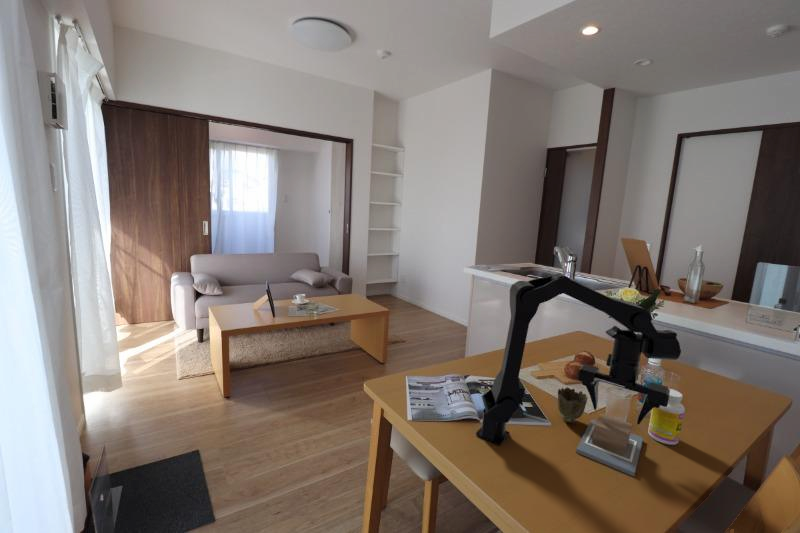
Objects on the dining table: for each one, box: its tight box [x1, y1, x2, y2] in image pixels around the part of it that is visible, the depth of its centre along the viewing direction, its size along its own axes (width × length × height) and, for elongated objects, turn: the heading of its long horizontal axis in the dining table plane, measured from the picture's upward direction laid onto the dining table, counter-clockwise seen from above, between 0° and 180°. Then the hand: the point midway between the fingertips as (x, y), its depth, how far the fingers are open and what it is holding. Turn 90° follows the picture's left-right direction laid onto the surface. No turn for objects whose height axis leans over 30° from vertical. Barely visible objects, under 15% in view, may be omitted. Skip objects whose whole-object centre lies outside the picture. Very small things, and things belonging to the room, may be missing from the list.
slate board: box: [575, 419, 644, 477], centre depth 92 cm, size 17×12×1 cm
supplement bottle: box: [647, 388, 686, 446], centre depth 96 cm, size 7×7×13 cm
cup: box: [557, 387, 588, 424], centre depth 102 cm, size 8×7×8 cm
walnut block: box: [592, 412, 633, 456], centre depth 92 cm, size 7×7×5 cm
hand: (616, 416), depth 91 cm, fingers open, 9 cm apart
